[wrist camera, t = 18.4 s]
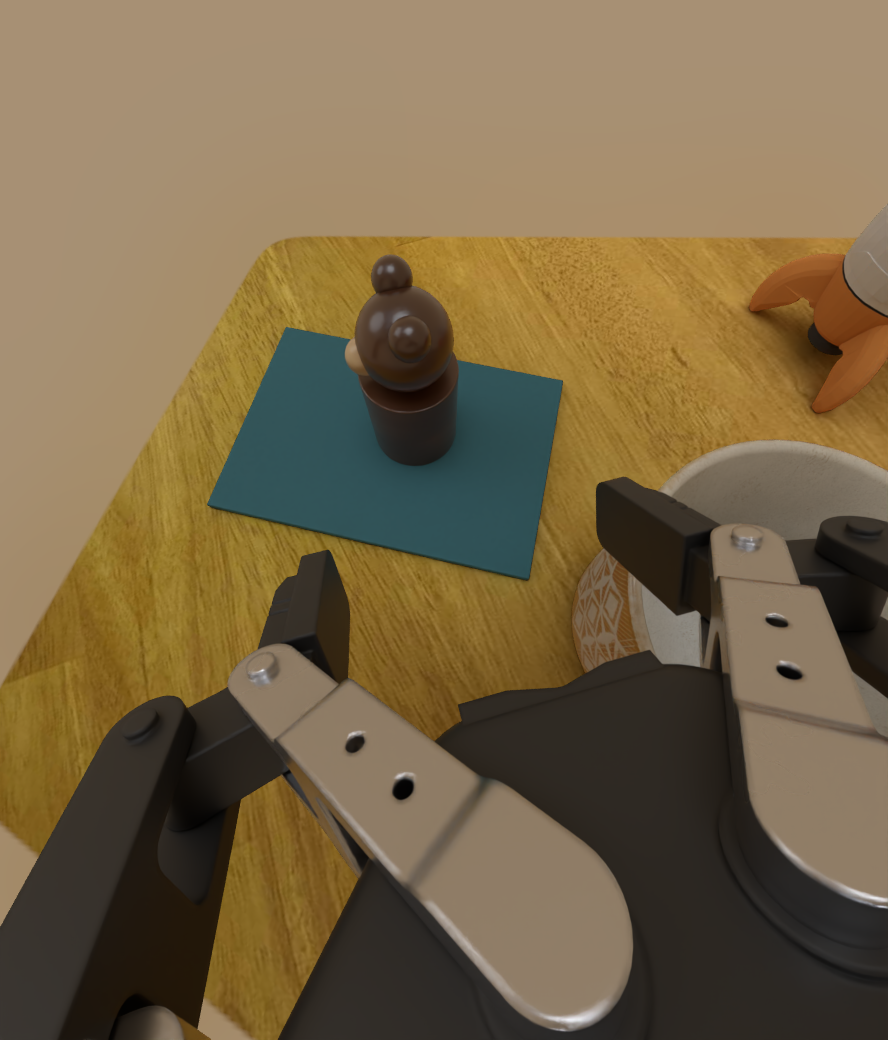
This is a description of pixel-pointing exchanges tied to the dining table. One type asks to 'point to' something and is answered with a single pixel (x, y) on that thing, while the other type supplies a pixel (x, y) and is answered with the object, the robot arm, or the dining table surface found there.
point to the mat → (384, 482)
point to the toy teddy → (406, 366)
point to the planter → (726, 500)
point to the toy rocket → (841, 308)
